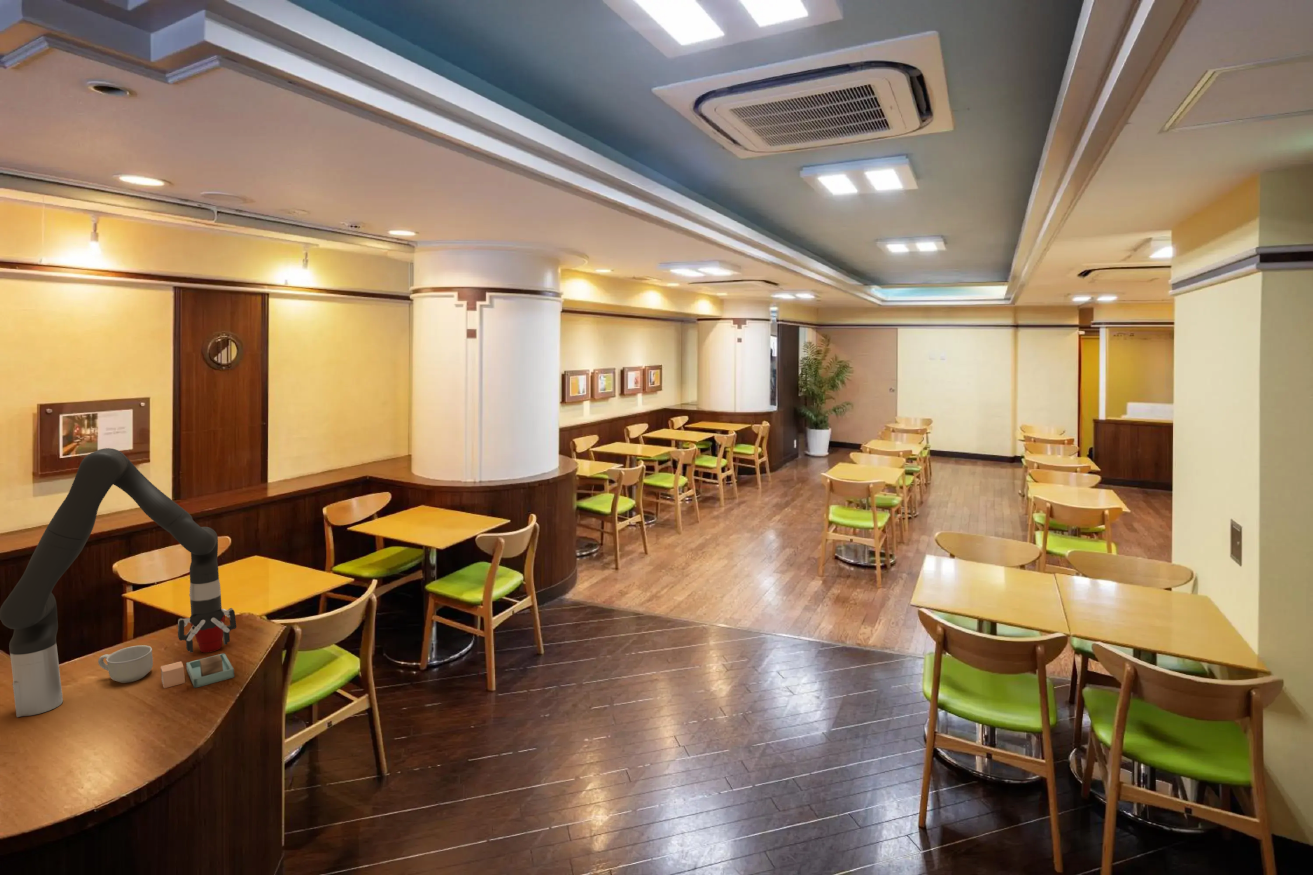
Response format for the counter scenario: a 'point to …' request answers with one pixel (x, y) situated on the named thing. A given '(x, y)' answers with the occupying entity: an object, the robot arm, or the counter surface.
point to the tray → (198, 681)
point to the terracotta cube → (172, 674)
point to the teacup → (128, 663)
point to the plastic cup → (210, 638)
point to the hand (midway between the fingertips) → (208, 647)
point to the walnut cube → (211, 665)
